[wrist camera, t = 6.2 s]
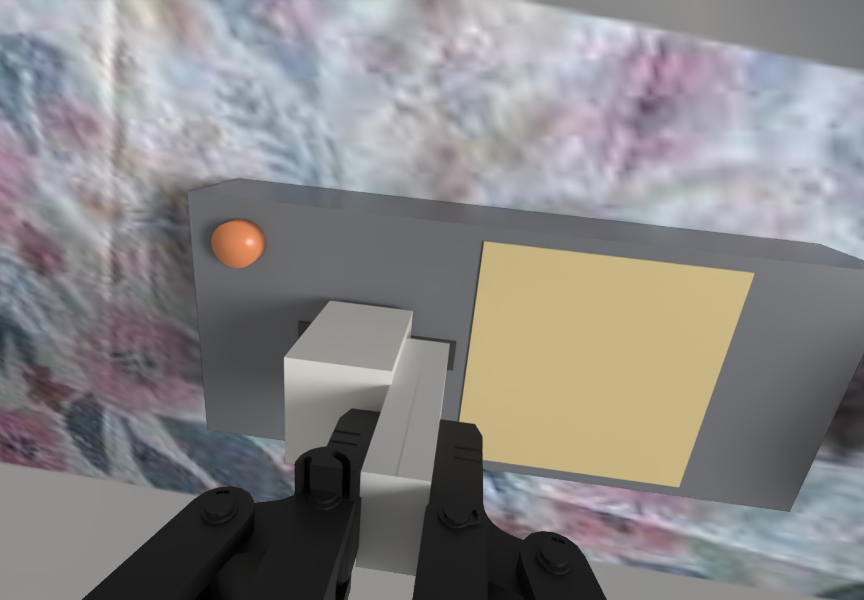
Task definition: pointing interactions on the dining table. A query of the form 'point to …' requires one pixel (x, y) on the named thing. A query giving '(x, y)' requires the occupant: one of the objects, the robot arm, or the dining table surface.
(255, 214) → the breaker housing
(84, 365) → the dining table surface
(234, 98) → the dining table surface
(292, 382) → the knob
